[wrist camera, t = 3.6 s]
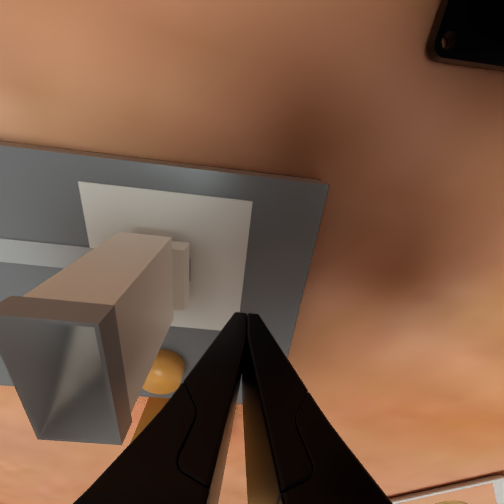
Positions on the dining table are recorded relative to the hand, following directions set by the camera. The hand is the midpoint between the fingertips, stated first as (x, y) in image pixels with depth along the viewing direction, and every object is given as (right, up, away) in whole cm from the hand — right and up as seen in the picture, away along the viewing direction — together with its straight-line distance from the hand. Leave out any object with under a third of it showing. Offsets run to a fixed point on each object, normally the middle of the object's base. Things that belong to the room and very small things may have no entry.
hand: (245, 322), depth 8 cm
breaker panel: (-8, +1, +5) cm, 9 cm away
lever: (-4, +2, +2) cm, 5 cm away
